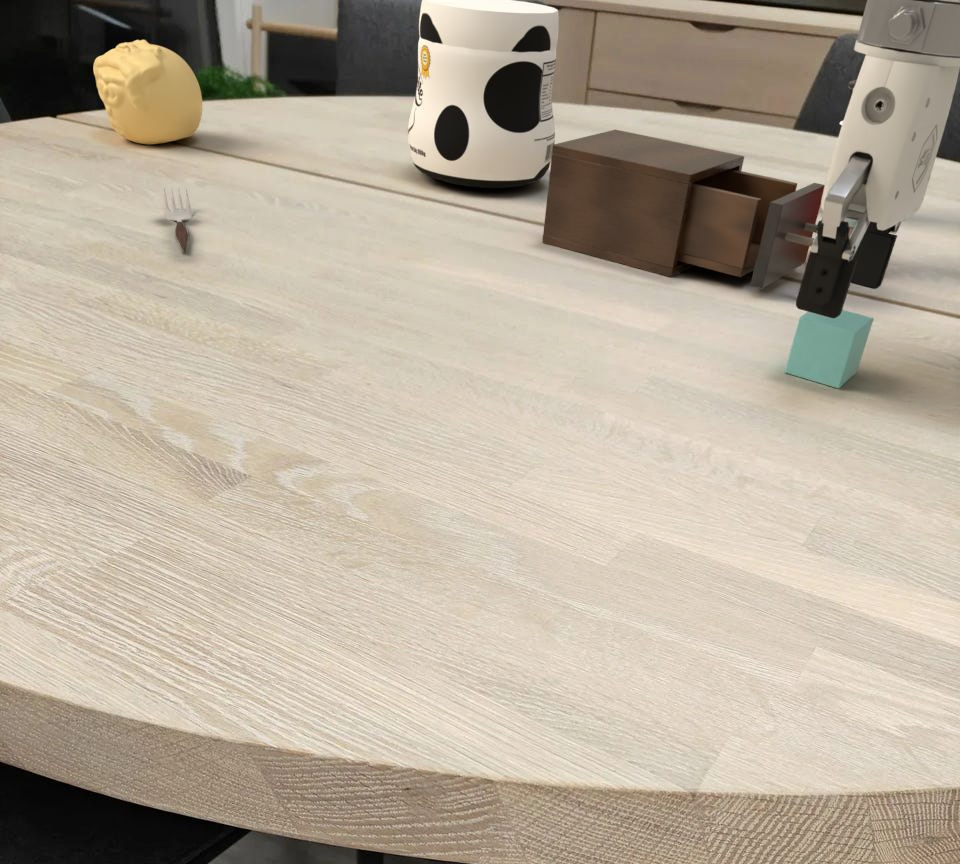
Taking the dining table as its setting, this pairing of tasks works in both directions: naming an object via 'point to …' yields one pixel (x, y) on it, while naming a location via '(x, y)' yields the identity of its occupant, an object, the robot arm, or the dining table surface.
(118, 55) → the sculpture
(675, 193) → the cabinet
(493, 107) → the milk container
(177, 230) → the fork
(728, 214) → the drawer
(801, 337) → the teal cube
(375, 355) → the dining table surface
